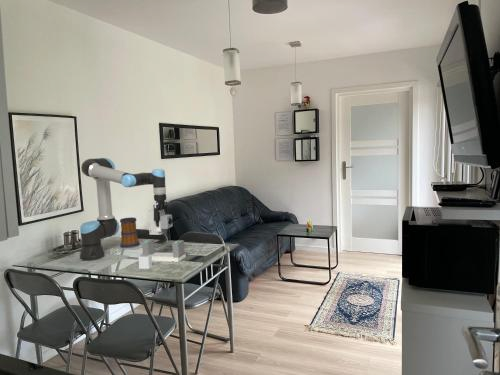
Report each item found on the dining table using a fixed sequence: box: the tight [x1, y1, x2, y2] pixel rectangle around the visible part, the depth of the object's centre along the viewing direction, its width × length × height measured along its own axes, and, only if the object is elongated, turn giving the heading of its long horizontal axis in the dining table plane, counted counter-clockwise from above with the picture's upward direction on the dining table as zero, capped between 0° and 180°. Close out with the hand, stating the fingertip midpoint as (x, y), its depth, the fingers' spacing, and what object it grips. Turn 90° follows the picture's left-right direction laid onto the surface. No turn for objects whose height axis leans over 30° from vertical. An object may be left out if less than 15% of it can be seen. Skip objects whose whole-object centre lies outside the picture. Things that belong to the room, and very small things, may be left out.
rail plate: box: [141, 238, 187, 263], centre depth 242 cm, size 25×11×12 cm, turn 74°
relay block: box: [138, 253, 153, 270], centre depth 225 cm, size 6×5×8 cm
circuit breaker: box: [147, 208, 174, 236], centre depth 240 cm, size 8×14×15 cm, turn 78°
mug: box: [119, 216, 141, 249], centre depth 281 cm, size 19×14×20 cm
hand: (162, 229), depth 241 cm, fingers closed on circuit breaker, 8 cm apart
